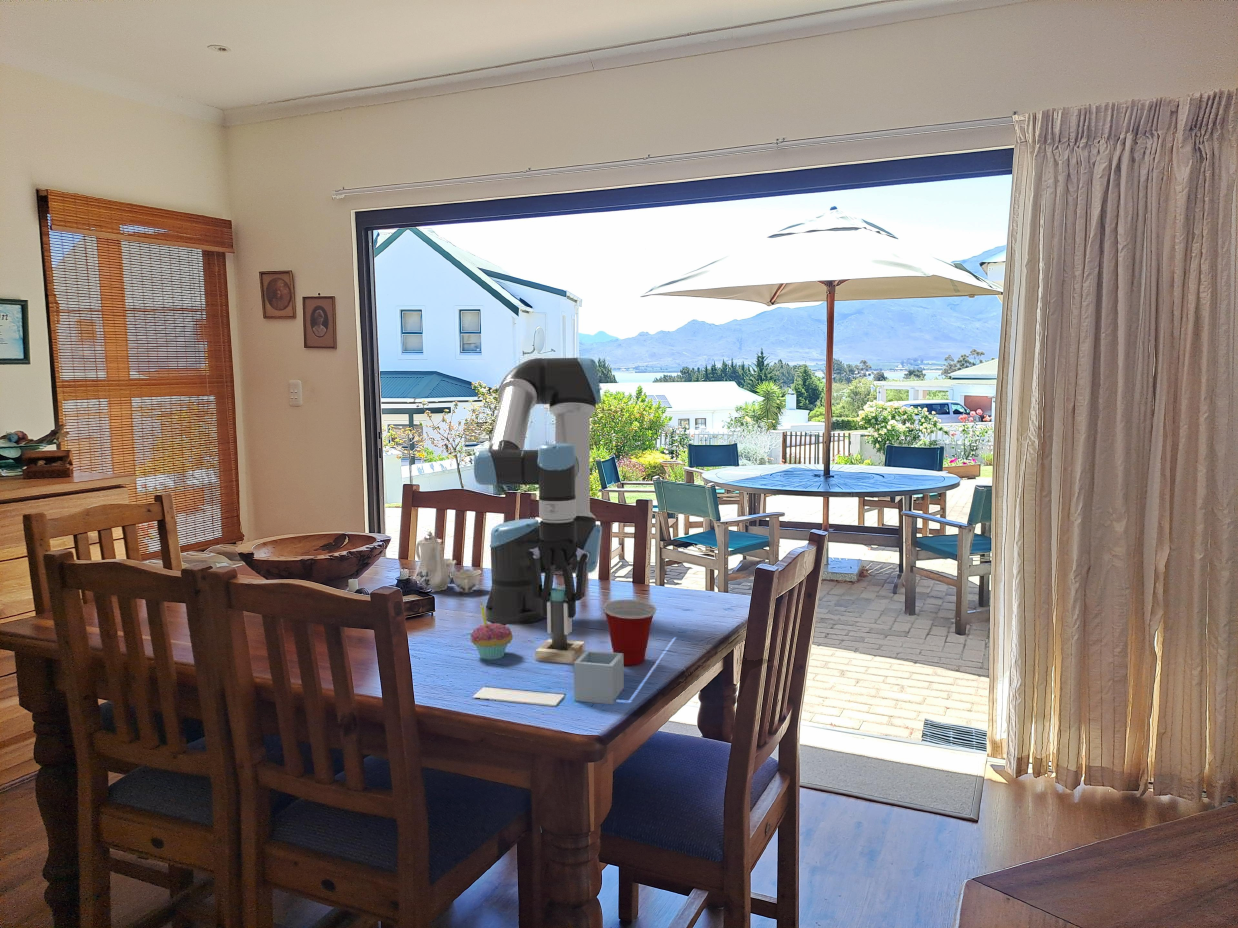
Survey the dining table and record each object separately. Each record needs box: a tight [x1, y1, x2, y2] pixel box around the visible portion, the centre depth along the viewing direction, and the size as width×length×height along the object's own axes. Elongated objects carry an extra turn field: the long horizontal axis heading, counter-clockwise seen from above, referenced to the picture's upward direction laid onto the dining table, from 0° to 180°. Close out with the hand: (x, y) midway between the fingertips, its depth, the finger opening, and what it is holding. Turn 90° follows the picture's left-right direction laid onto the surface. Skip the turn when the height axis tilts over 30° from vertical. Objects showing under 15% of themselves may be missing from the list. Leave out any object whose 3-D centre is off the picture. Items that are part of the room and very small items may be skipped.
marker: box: [551, 586, 568, 650], centre depth 177 cm, size 3×3×14 cm
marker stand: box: [534, 638, 586, 665], centre depth 178 cm, size 8×8×2 cm
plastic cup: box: [602, 599, 658, 667], centre depth 173 cm, size 11×11×12 cm
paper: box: [472, 685, 567, 707], centre depth 161 cm, size 16×14×1 cm
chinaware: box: [411, 530, 482, 594], centre depth 239 cm, size 28×17×17 cm, turn 40°
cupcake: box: [470, 601, 514, 660], centre depth 178 cm, size 9×8×12 cm
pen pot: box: [573, 649, 625, 705], centre depth 156 cm, size 7×7×7 cm
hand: (559, 631), depth 177 cm, fingers closed on marker, 3 cm apart
